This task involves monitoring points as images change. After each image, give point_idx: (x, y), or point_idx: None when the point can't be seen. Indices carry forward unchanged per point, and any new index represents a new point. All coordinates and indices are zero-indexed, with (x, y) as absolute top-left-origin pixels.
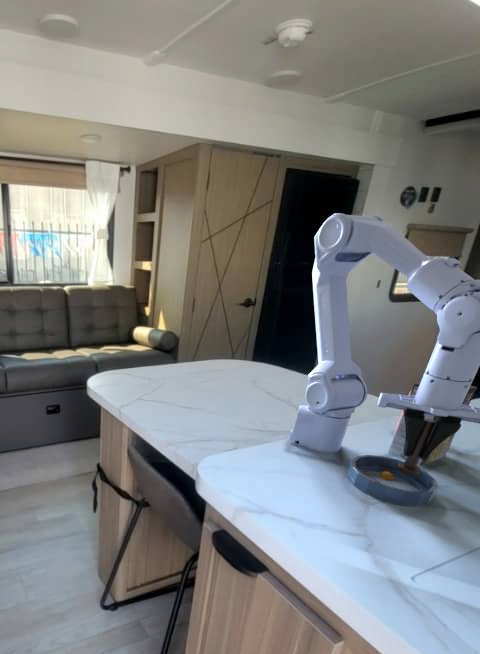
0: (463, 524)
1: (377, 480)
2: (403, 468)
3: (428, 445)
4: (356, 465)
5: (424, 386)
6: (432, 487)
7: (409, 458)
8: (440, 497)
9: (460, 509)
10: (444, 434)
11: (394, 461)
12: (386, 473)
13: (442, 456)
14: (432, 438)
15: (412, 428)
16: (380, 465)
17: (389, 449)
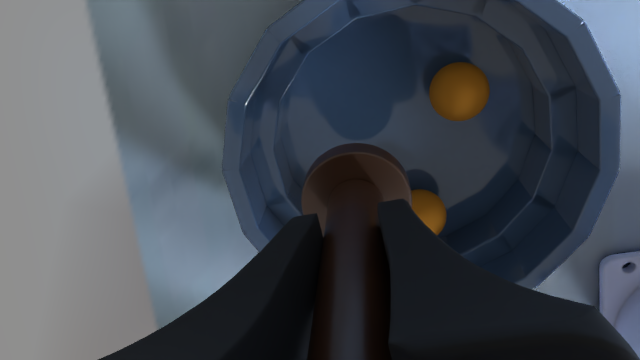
0: (127, 85)
1: (459, 106)
2: (380, 158)
3: (295, 267)
4: (564, 194)
5: None
6: (238, 140)
7: (373, 208)
8: (227, 238)
9: (159, 195)
10: (186, 329)
11: None
12: (427, 214)
13: None
14: (279, 302)
15: (477, 291)
16: None
17: None
